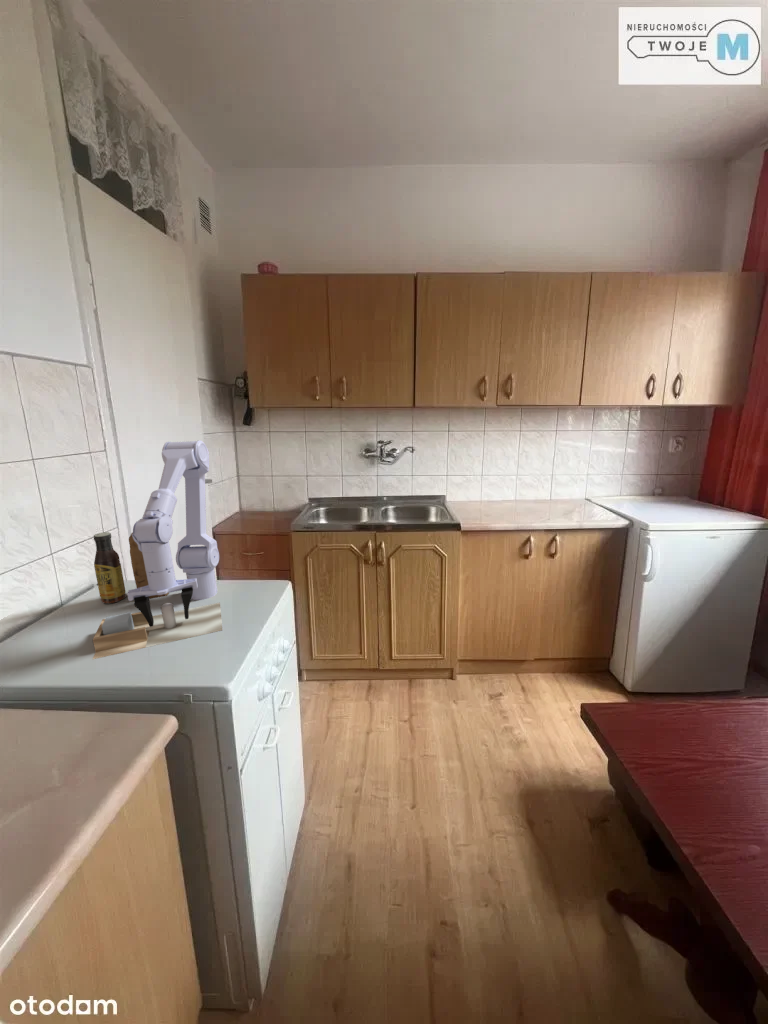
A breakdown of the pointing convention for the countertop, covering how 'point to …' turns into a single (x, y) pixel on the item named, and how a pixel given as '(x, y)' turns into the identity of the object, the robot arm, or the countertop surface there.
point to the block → (139, 566)
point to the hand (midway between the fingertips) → (169, 620)
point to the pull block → (126, 623)
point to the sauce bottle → (108, 570)
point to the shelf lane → (158, 631)
